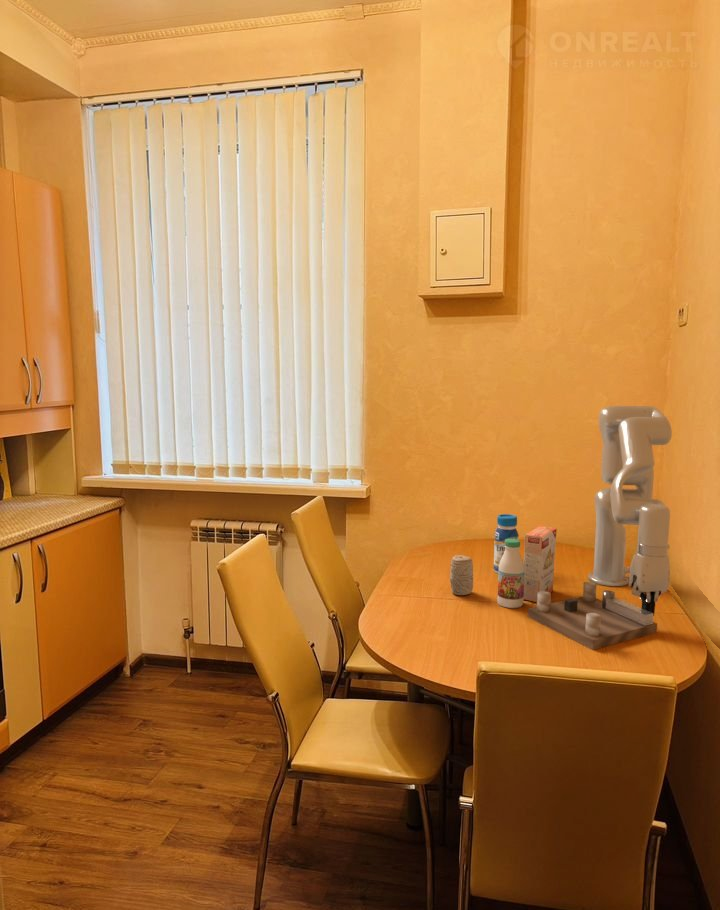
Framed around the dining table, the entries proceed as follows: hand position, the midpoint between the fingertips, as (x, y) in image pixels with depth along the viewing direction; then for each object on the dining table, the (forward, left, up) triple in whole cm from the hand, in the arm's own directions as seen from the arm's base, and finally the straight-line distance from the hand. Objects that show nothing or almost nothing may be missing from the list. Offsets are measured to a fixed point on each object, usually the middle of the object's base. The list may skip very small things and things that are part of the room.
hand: (647, 614), depth 172 cm
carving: (+30, -45, -4) cm, 54 cm away
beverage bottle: (+3, -56, -4) cm, 56 cm away
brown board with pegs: (+12, -9, -4) cm, 15 cm away
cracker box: (+9, -33, -4) cm, 34 cm away
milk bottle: (+22, -31, -4) cm, 38 cm away
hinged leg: (+3, -5, -1) cm, 6 cm away
